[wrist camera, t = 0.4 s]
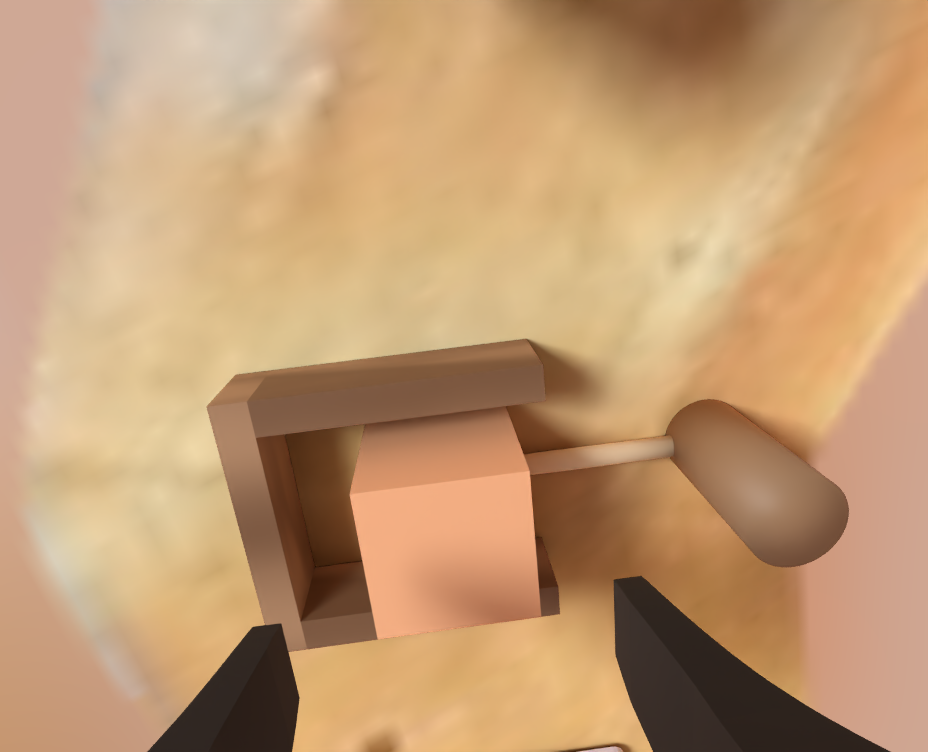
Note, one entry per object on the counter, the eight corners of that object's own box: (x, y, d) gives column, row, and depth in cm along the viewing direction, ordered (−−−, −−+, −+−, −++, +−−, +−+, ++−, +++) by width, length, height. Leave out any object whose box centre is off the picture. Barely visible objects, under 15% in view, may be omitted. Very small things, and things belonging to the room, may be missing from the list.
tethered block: (738, 488, 24) (839, 587, 18) (387, 535, 23) (376, 651, 17) (745, 369, 22) (857, 437, 16) (366, 417, 22) (347, 503, 16)
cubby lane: (543, 562, 24) (560, 614, 21) (290, 596, 24) (272, 654, 21) (526, 338, 21) (543, 364, 18) (235, 374, 21) (206, 406, 18)
